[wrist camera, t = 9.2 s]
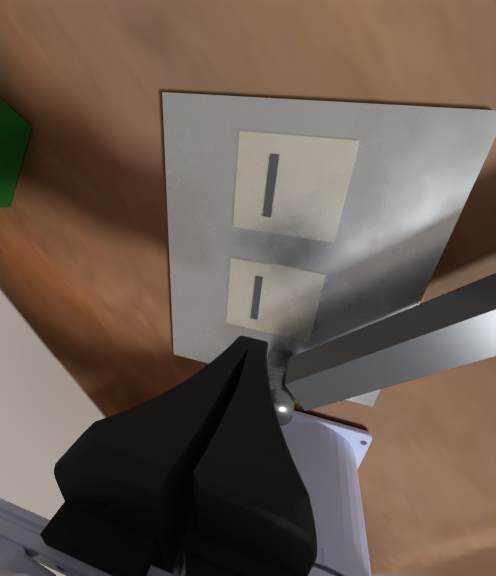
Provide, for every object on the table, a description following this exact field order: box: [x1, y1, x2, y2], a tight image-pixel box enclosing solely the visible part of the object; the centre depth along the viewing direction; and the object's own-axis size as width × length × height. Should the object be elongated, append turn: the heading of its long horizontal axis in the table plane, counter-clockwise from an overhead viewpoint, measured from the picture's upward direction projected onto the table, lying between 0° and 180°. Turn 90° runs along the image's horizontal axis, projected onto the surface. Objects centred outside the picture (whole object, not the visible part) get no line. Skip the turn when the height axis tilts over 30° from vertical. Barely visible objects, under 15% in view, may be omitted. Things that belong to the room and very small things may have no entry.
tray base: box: [162, 92, 496, 426], centre depth 14 cm, size 18×16×5 cm
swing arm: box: [285, 273, 496, 411], centre depth 12 cm, size 16×2×2 cm, turn 127°
